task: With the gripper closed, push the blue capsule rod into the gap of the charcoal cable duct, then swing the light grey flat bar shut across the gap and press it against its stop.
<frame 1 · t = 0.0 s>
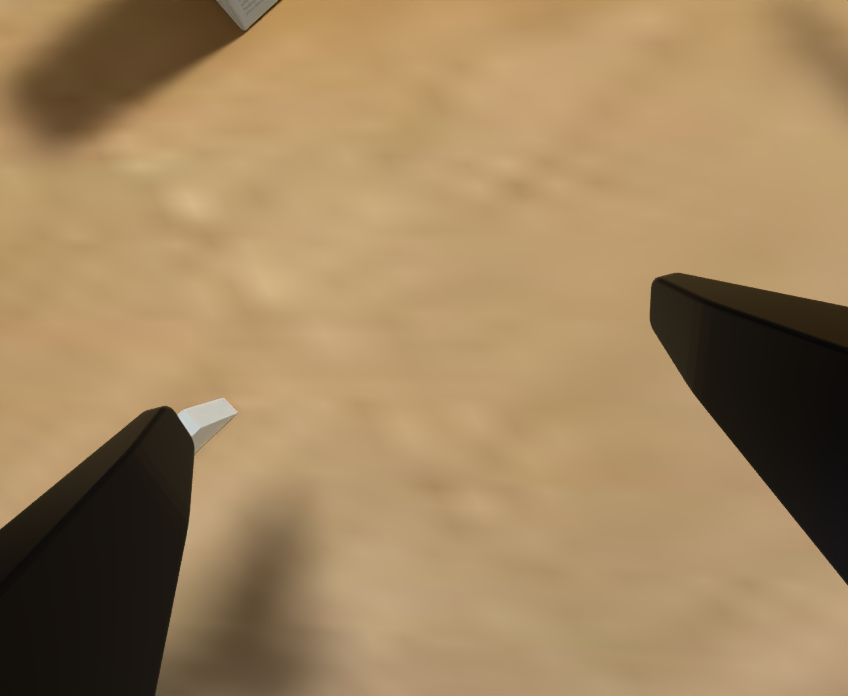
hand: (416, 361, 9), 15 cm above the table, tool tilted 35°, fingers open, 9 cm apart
light grey flat bar: (20, 591, 22), point 3 cm above the table, hinge at 90.0°
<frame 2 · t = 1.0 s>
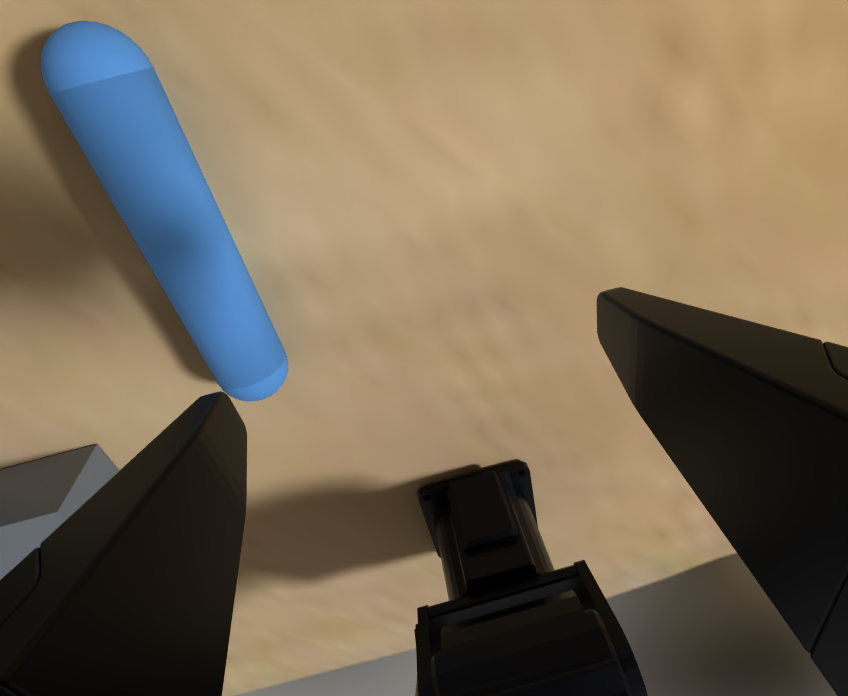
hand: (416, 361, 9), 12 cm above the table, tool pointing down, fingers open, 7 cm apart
blue capsule rod: (199, 232, 19), on the table
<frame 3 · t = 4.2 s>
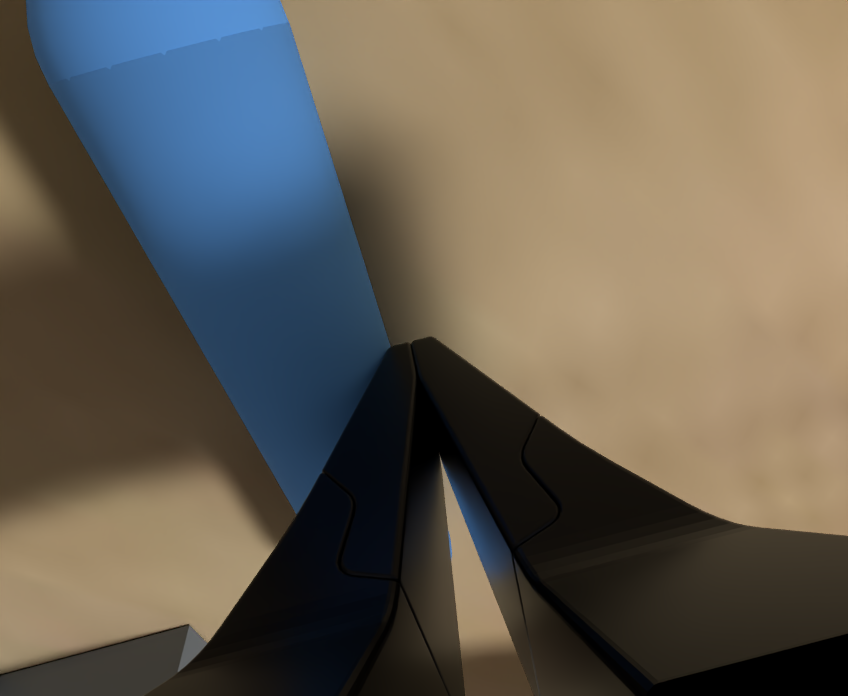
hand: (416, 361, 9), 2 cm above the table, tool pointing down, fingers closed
blue capsule rod: (321, 341, 11), on the table, touching gripper
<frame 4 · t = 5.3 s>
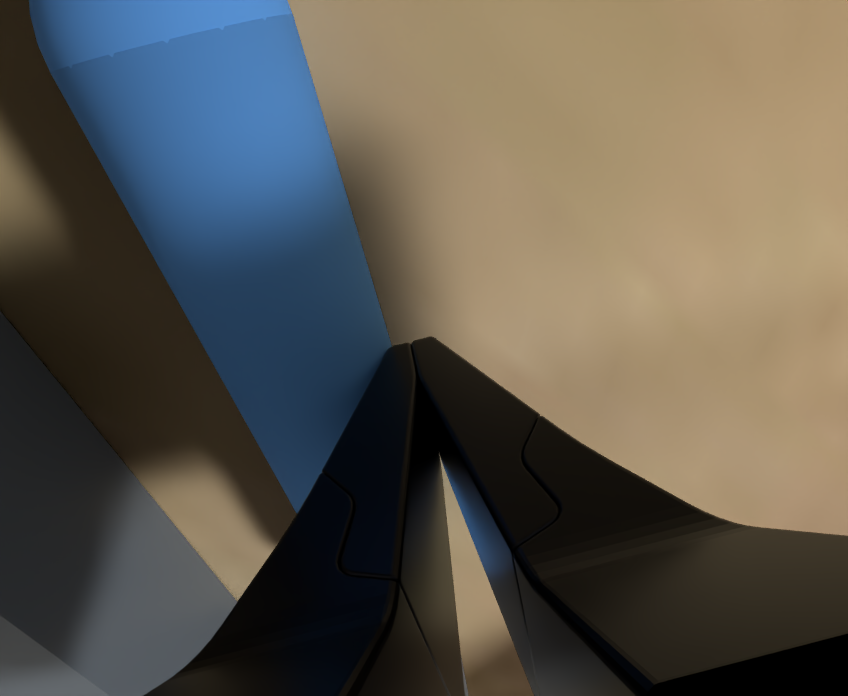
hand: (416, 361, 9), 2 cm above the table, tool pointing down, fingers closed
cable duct: (217, 374, 11), on the table
blue capsule rod: (321, 336, 11), on the table, touching gripper
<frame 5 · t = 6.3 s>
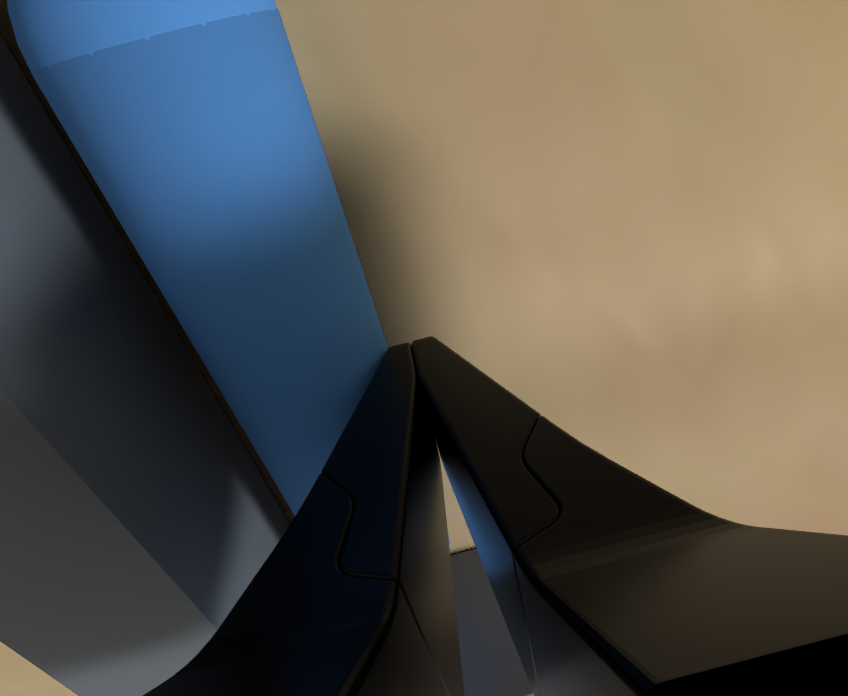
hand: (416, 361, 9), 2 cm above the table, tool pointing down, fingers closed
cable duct: (341, 338, 10), on the table
blue capsule rod: (316, 336, 11), on the table
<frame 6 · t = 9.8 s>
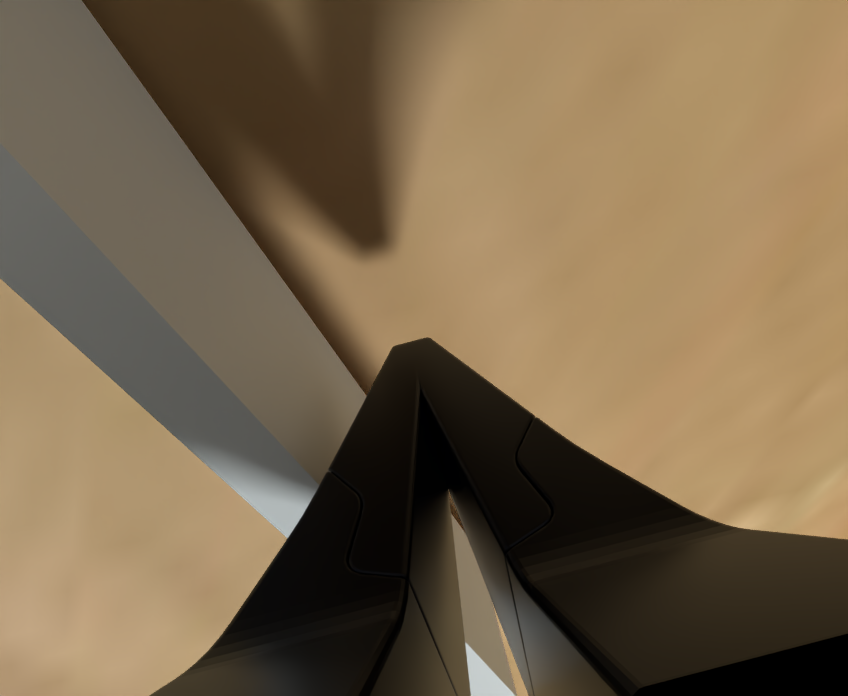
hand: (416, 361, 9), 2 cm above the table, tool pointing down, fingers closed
light grey flat bar: (198, 302, 7), point 2 cm above the table, hinge at 89.3°, touching gripper
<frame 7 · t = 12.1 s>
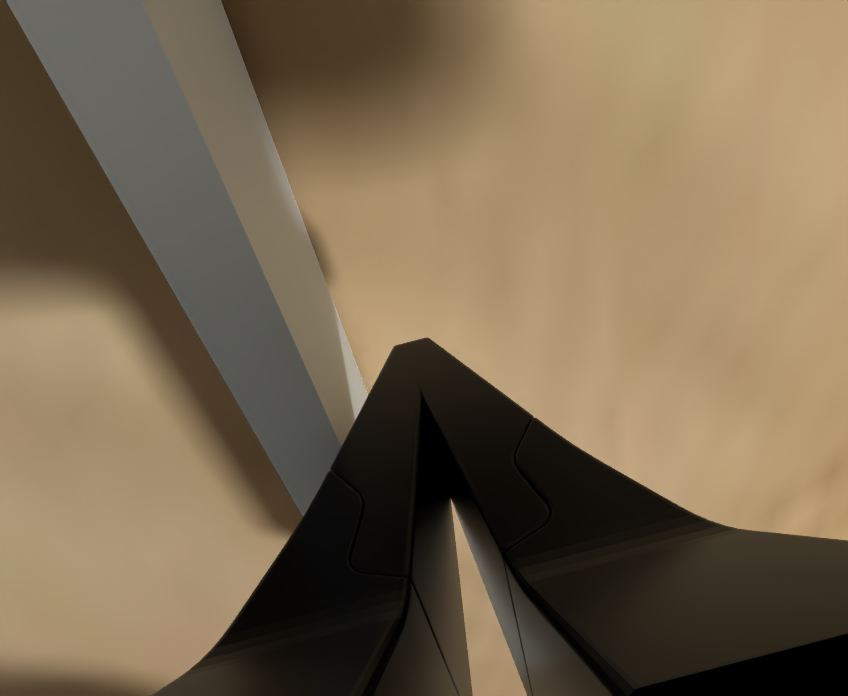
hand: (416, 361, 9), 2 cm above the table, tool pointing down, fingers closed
light grey flat bar: (256, 259, 7), point 3 cm above the table, hinge at 39.4°, touching gripper
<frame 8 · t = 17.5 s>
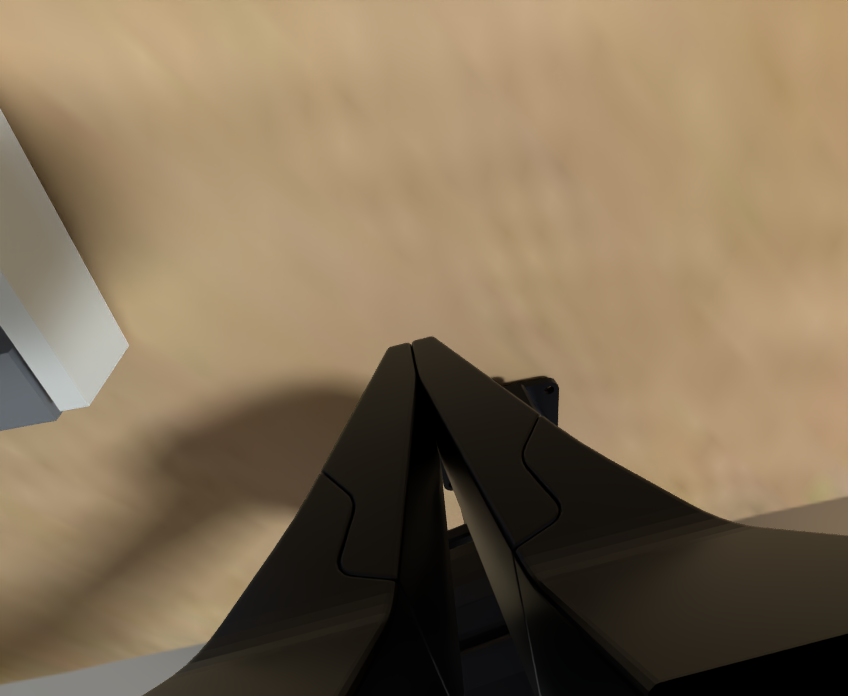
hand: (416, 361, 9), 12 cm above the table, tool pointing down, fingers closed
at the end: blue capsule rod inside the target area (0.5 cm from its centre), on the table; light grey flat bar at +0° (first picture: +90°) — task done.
